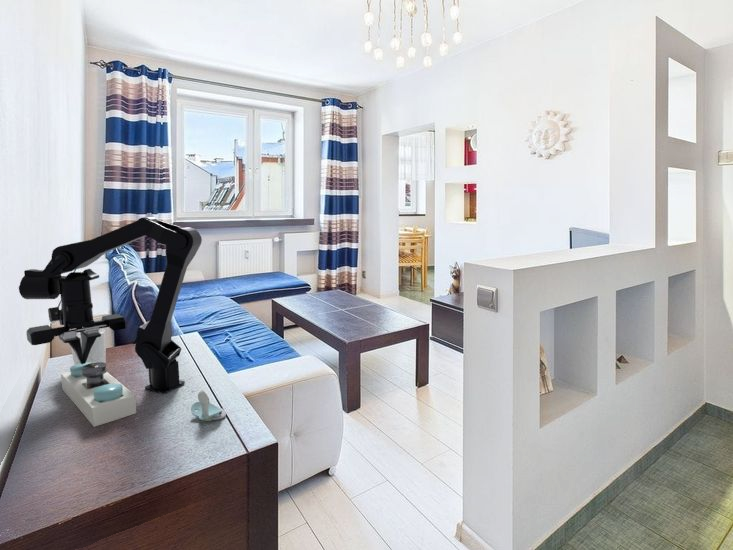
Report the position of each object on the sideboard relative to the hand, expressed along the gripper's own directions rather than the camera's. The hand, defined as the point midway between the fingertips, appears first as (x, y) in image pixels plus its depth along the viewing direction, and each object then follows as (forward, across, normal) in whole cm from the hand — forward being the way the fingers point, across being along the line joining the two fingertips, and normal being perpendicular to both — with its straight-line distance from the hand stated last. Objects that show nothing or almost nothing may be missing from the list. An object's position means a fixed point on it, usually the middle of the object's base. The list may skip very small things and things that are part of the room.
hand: (82, 363), depth 100 cm
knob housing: (+6, 0, +9) cm, 11 cm away
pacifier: (+7, -14, +34) cm, 37 cm away
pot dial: (+3, 0, +9) cm, 9 cm away
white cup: (+6, -4, -13) cm, 15 cm away
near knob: (+5, 0, +18) cm, 19 cm away
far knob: (+5, 0, 0) cm, 5 cm away
